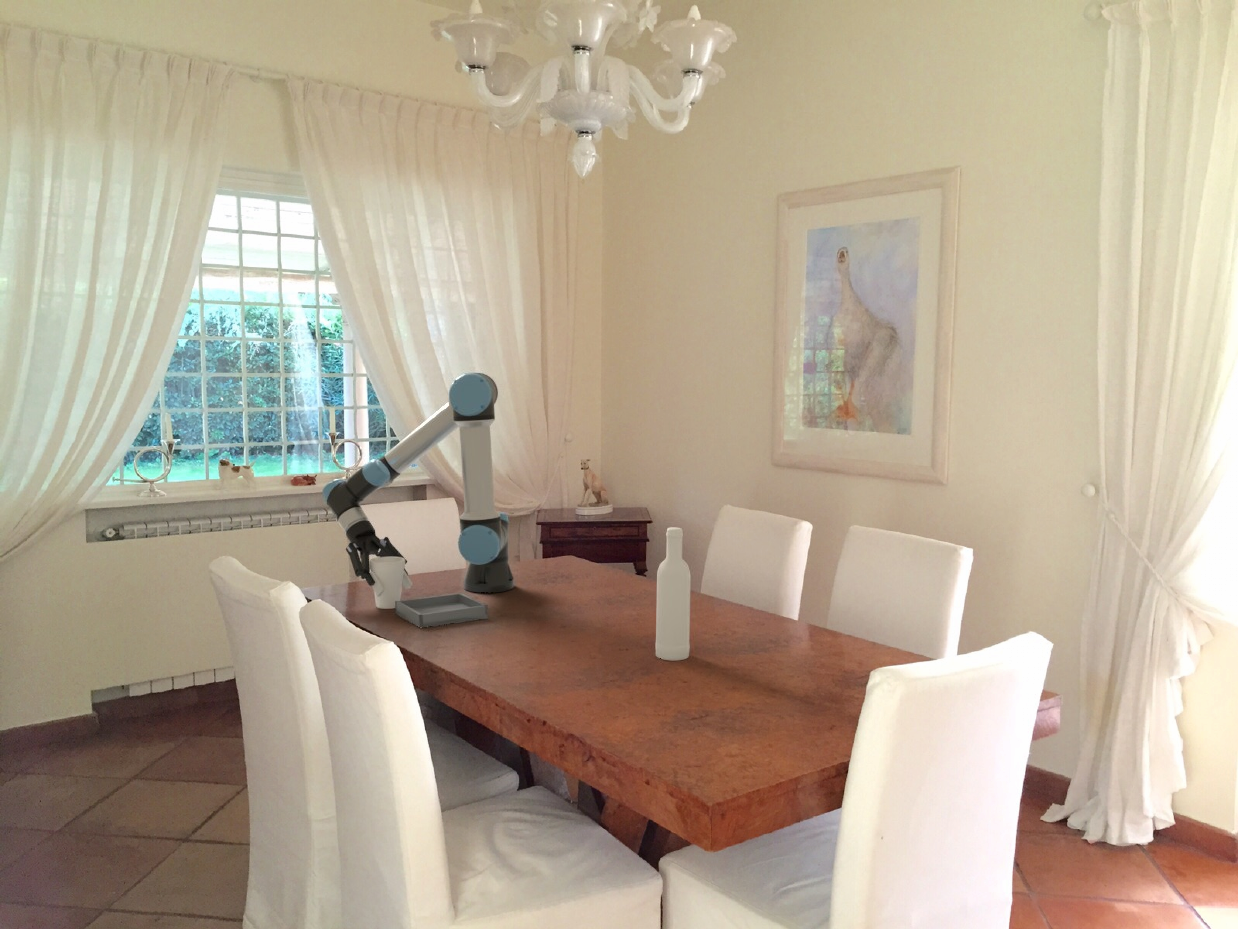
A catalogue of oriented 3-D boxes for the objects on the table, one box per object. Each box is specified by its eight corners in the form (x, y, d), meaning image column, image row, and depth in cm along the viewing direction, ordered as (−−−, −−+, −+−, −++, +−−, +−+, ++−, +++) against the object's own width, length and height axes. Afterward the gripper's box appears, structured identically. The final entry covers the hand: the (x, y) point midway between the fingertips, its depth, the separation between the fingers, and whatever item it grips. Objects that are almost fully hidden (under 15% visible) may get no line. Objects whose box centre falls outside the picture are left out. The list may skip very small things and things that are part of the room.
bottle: (683, 662, 218) (686, 532, 215) (650, 658, 220) (652, 529, 217) (693, 653, 225) (695, 527, 222) (661, 649, 228) (663, 524, 225)
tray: (460, 605, 268) (460, 592, 268) (487, 618, 254) (487, 605, 254) (395, 614, 257) (395, 601, 257) (420, 628, 243) (419, 615, 243)
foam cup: (409, 602, 270) (409, 557, 269) (399, 610, 261) (398, 563, 260) (377, 601, 271) (376, 556, 270) (365, 609, 262) (364, 562, 261)
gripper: (381, 530, 282) (419, 591, 274) (318, 540, 264) (357, 605, 257) (393, 514, 278) (431, 575, 271) (330, 523, 261) (369, 589, 253)
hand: (395, 590), depth 264 cm, fingers closed on foam cup, 9 cm apart
